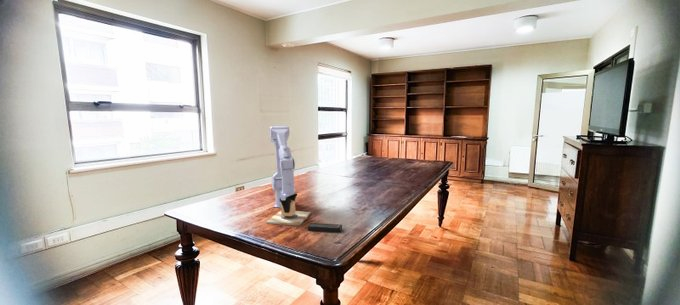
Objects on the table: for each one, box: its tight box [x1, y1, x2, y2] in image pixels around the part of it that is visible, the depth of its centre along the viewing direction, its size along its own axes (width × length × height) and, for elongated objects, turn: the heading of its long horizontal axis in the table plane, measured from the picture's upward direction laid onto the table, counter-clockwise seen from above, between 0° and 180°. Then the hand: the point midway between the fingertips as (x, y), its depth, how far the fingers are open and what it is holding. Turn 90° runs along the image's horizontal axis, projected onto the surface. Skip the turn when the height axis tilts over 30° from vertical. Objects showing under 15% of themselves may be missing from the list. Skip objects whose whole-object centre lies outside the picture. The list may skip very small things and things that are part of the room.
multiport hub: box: [307, 222, 343, 234], centre depth 124 cm, size 4×14×2 cm, turn 79°
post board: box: [266, 210, 311, 227], centre depth 138 cm, size 16×16×6 cm
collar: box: [280, 200, 296, 216], centre depth 138 cm, size 5×5×6 cm
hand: (289, 210), depth 138 cm, fingers closed on collar, 5 cm apart
